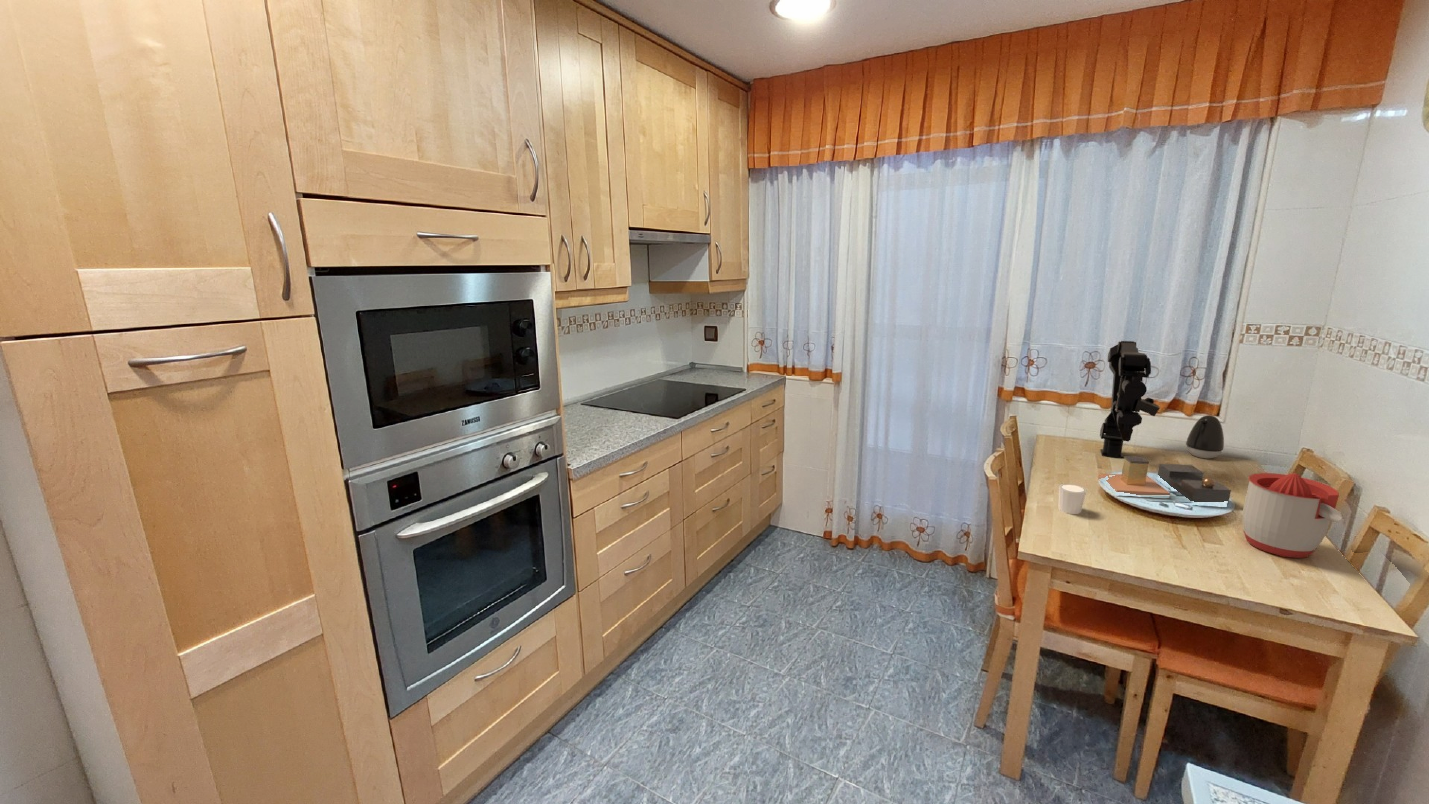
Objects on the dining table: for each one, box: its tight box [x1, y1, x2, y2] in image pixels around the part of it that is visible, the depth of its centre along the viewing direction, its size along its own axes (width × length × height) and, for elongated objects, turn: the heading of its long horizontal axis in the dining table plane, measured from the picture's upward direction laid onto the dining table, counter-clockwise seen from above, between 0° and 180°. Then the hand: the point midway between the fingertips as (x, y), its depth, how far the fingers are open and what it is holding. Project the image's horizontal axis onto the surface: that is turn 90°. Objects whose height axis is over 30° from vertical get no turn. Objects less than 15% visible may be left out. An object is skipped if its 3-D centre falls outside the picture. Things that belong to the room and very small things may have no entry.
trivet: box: [1097, 472, 1171, 495], centre depth 178 cm, size 14×14×2 cm
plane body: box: [1157, 463, 1232, 503], centre depth 173 cm, size 20×9×8 cm, turn 166°
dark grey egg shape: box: [1185, 415, 1225, 460], centre depth 201 cm, size 10×10×15 cm
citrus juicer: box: [1242, 472, 1343, 559], centre depth 139 cm, size 16×17×20 cm
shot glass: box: [1058, 483, 1087, 515], centre depth 165 cm, size 7×7×7 cm
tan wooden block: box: [1121, 455, 1150, 486], centre depth 177 cm, size 4×5×8 cm
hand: (1122, 436), depth 191 cm, fingers open, 9 cm apart
